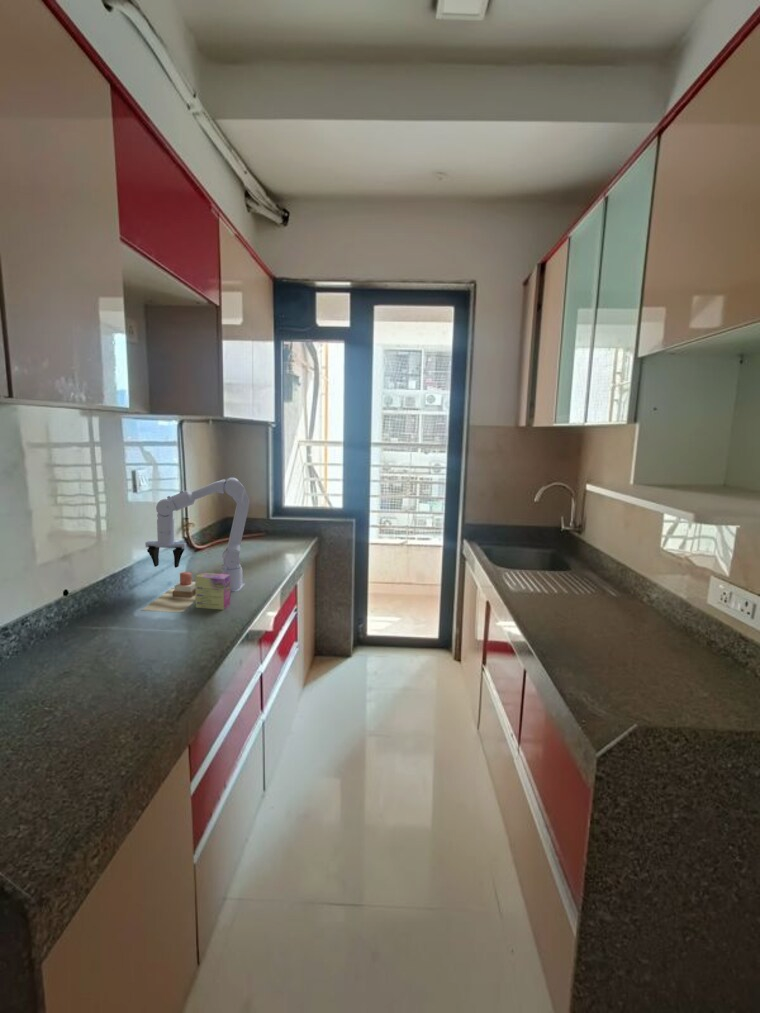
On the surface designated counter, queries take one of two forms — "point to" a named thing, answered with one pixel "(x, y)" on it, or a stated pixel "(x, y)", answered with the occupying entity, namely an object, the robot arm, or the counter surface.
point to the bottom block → (184, 593)
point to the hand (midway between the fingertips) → (166, 566)
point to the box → (212, 591)
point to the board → (170, 603)
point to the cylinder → (185, 578)
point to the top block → (185, 587)
